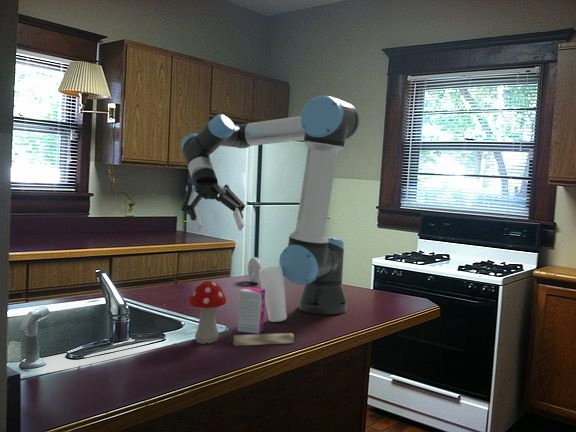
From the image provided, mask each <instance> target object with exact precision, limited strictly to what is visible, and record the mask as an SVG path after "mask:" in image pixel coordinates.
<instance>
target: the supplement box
mask: <svg viewBox="0 0 576 432" xmlns="http://www.w3.org/2000/svg"><path fill="white" fill-rule="evenodd" d="M238 299H239V300H238V301H239V304H238V319H237V334H238V333H239V334H238V335H254V334H261V332H262V331H264V320H265V319H264V318H265V305H266V304H265V289H262V288H259V287H258V288H257V287H250V286H249V287H248V286H246V287H244V288H242V289H240V290H239V298H238Z"/></svg>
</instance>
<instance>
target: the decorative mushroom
mask: <svg viewBox="0 0 576 432" xmlns="http://www.w3.org/2000/svg"><path fill="white" fill-rule="evenodd" d="M226 303H227V297H226V294H225V293H224V291H223V289H222V287H221V285H220V284H219V283H217V282H216V281H213V280H205V281H202V282H201V283H198V285H197V286H196V287H195V289H194V290H193V292H192V294H191V295H190V298H189V304H190V306H191V307H194V308H197V309H199V321H198V326H197V330H196V333H195V334H194V338H195V341H196V343H197V344H202V345H203V344H205V345H206V343H208V344H212V342H213V343H216V342H217V341H218V340H219V336H220V333H219V330H218V328H217V321H216V319H217V318H216V308H219V307H221V306H224V305H225V304H226ZM215 341H216V342H215Z"/></svg>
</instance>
